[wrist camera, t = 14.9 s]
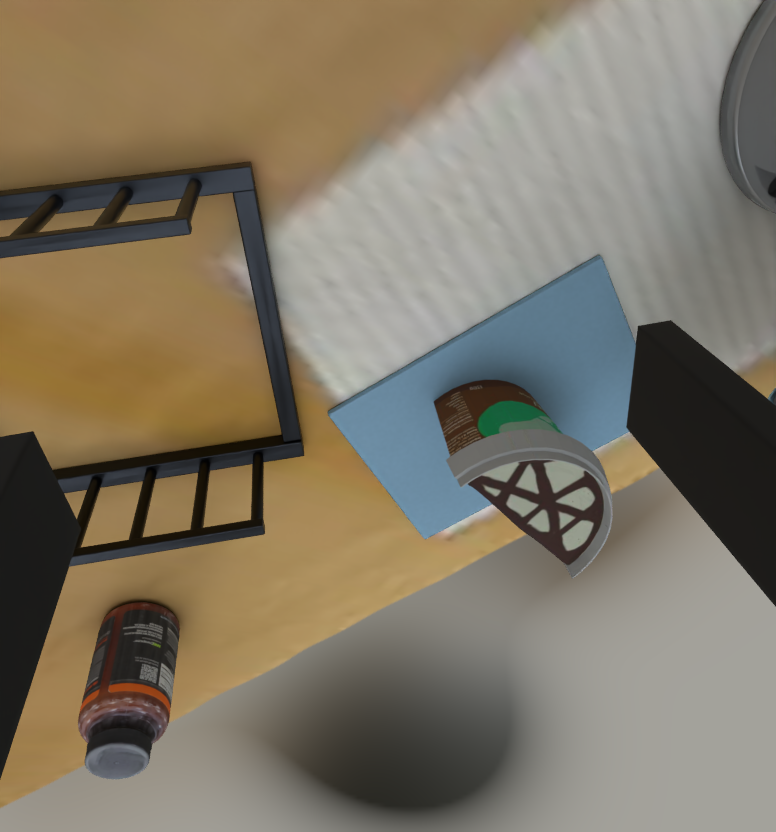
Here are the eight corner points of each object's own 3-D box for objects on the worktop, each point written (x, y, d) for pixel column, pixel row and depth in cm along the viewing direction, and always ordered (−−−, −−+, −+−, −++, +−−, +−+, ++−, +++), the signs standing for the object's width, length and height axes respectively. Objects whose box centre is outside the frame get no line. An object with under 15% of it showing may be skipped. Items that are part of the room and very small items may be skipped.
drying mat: (598, 254, 41) (602, 257, 41) (659, 410, 49) (662, 414, 48) (327, 411, 45) (328, 415, 44) (423, 535, 52) (424, 539, 52)
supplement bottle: (104, 650, 53) (70, 792, 44) (98, 598, 50) (60, 738, 41) (181, 648, 55) (164, 785, 45) (180, 597, 52) (162, 733, 42)
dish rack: (251, 161, 35) (247, 204, 28) (303, 446, 46) (310, 530, 39) (-145, 207, 34) (-255, 266, 27) (2, 492, 44) (-48, 589, 37)
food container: (591, 432, 48) (659, 524, 40) (525, 483, 50) (577, 582, 42) (489, 326, 42) (544, 409, 34) (418, 388, 44) (454, 482, 36)
